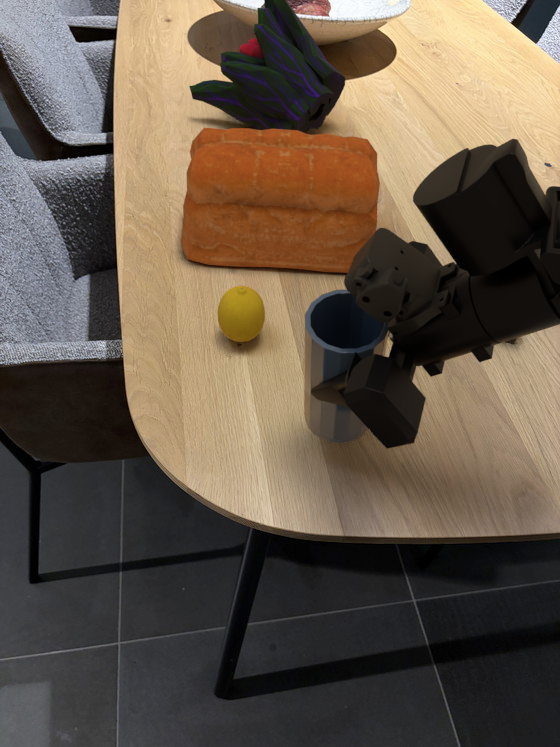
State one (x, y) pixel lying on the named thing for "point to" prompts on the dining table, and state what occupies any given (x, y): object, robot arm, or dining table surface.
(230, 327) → the lemon
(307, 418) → the tumbler
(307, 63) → the decorative plant
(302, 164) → the bread
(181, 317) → the dining table surface
